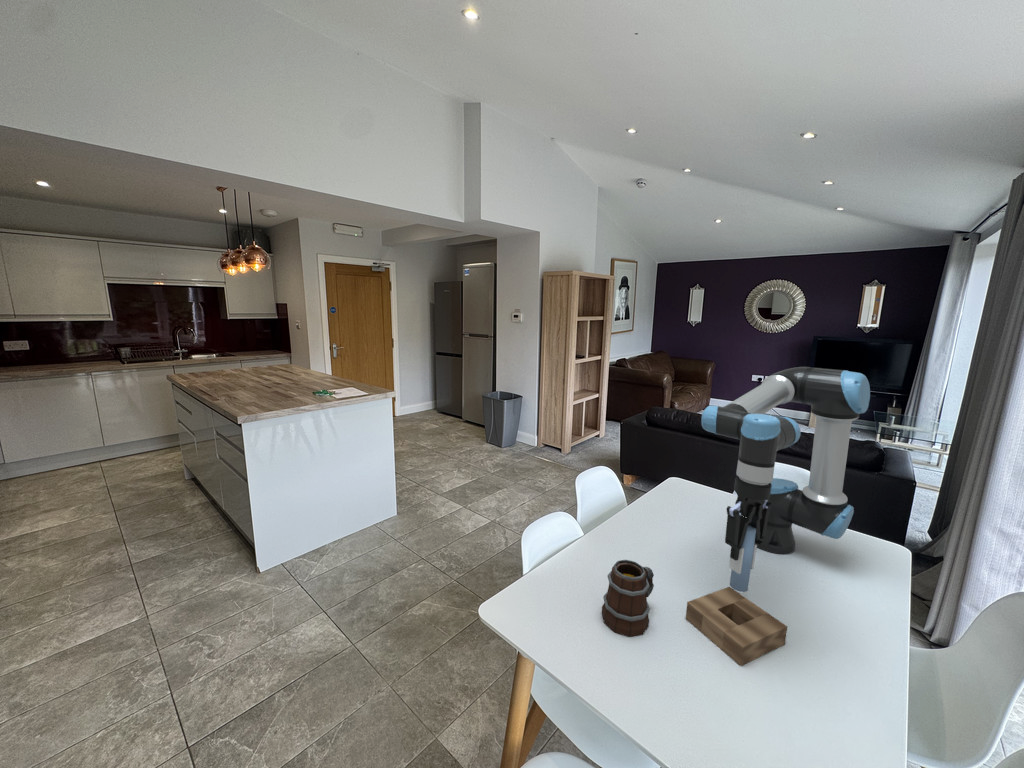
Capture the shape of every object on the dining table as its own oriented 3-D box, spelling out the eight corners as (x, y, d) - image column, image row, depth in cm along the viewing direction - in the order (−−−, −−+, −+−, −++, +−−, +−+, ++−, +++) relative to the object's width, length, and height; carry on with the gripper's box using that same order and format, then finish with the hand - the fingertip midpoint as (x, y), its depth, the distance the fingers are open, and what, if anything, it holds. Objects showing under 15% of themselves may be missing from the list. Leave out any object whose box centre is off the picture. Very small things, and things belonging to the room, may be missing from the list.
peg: (736, 580, 105) (744, 522, 102) (751, 589, 101) (760, 529, 98) (726, 583, 103) (733, 525, 100) (740, 593, 100) (748, 533, 97)
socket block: (727, 602, 115) (729, 586, 114) (784, 644, 101) (787, 626, 100) (685, 618, 108) (687, 602, 107) (740, 666, 94) (743, 647, 93)
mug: (627, 644, 100) (632, 589, 97) (592, 613, 110) (595, 562, 107) (668, 619, 108) (673, 568, 105) (632, 593, 118) (636, 545, 115)
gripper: (761, 468, 104) (750, 552, 108) (714, 478, 97) (704, 567, 101) (792, 480, 97) (778, 569, 101) (743, 490, 90) (731, 585, 94)
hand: (741, 568), depth 101 cm, fingers closed on peg, 4 cm apart
